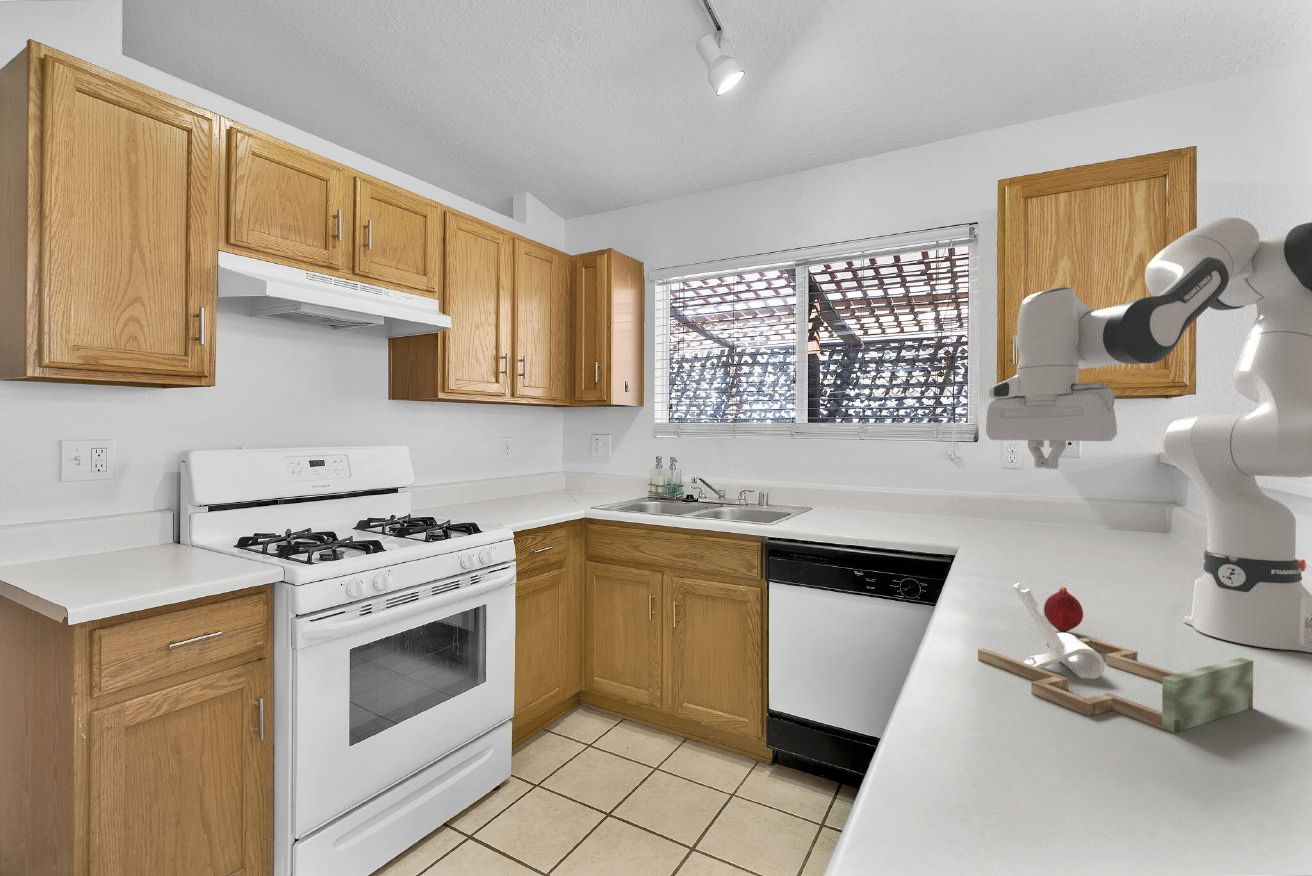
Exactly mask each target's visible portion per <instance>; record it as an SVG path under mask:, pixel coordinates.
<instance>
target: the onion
mask: <svg viewBox="0 0 1312 876" xmlns="http://www.w3.org/2000/svg"><path fill="white" fill-rule="evenodd" d="M1043 614H1044V615H1045V616H1046V618H1047V619H1048V621H1049V622H1050V624H1051V625H1052V627H1053V628H1055V629H1056V630H1058V632H1059V633H1068V632H1069V631H1071V630H1073V629H1075V628H1077V627H1078V626H1079V625H1080V624H1081V623H1082V621H1083V618H1084V610H1083V606H1082V605H1081V603H1080V601H1079V600H1078V599H1077V598H1076V597H1075V596H1073V594H1070V593H1069V592H1068V590H1067V587H1065V586H1061V587H1059V590H1058V591H1057V592H1055V593H1053V594H1051V595H1050V596H1049V597H1048V598H1046V600H1045V602H1044V606H1043Z"/></svg>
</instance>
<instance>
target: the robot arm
mask: <svg viewBox="0 0 1312 876" xmlns="http://www.w3.org/2000/svg"><path fill="white" fill-rule="evenodd" d="M1144 271H1145V272H1144V283H1145V286H1146V289H1147V290H1148V292H1149V293H1150V295H1151V296H1147V297H1144V298H1143V297H1141V298H1140V299H1135V300H1131V301H1129V302H1125V303H1122V304H1118V305H1117V304H1116V305H1113V306H1109V307H1104V308H1100V309H1096V308H1093V307H1090V306H1089V305H1086V304H1085V303H1083V302H1082V301H1081V300H1080V299H1079V298H1078V297H1077V295H1076V292H1075V289H1074V288H1072V287H1057V288H1051V289H1048V290H1043V291H1038V292H1036V293H1032V294H1030V295H1028V296H1027V297H1026V298H1024V299H1023V300H1022V302H1021V305H1020V306H1019V311H1018V318H1017V326H1016V327H1017V329H1016V347H1017V349H1018V352H1019V353H1018V354H1019V358H1018V363H1017V365H1016V375H1015V376H1012V377H1011V378H1008V379H1006V380H1004V381H1002V382H999V383H997V384H994V385H992V386H990V387H989V389H988V396H989V398H990V399H992V400H991V401H990V403H989V404H988V406H987V410H986V411H987V412H986V419H985V420H986V421H985V422H986V424H985V426H986V427H985V428H986V429H985V432H986V433H985V434H986V435H987V437H988V438H989V439H990V441H1027V448H1028V450H1029V452H1030V454H1031V455H1032V457H1033V458H1034V468H1035V469H1051V470H1052V469H1053V470H1055V469H1056V470H1057V469H1058V468H1059V459H1060V458H1061V456H1062V454H1063V453H1064V451H1065V450H1066V448H1067V446H1066V444H1067V443H1066V442H1067V441H1068V442H1111V441H1113V440H1114V439H1115V437H1116V436H1117V432H1118V426H1117V425H1118V424H1117V417H1116V411H1115V391H1114V389H1113V388H1112V387H1111V386H1110V385H1108V384H1106V383H1105V382H1100V381H1096V382H1093V383H1091V382H1090V383H1088V382H1087V383H1086V382H1082V383H1079V381H1080V372H1079V371H1080V370H1084V369H1085V370H1086V369H1094V368H1103V367H1112V366H1120V365H1137V364H1138V365H1139V364H1153V363H1158V362H1160V361H1162V360H1164V359H1166V357H1168V356H1169V355H1170V354H1171V353H1172V352H1173V350H1174V349H1176V347H1177V345H1178V343H1179V342H1180V340H1181V338H1182V336H1183V335H1184V333H1185V332H1186V330H1187V329H1188V328H1189V326H1191V324H1193V322H1194V321H1196V320H1197V318H1199V316H1200V315H1202V314H1203V313H1204V312H1205V311H1206V310H1207V309H1208V308H1210V309H1212V310H1216V311H1230V310H1237V309H1242V308H1244V307H1246V306H1251V305H1256V312H1257V314H1256V315H1257V316H1256V318H1255V320H1254V322H1253V324H1252V325H1251V327H1250V329H1249V332H1248V333H1247V335H1246V338H1245V341H1244V343H1243V345H1242V348H1241V351H1240V354H1239V357H1238V359H1237V362H1236V365H1235V367H1234V370H1233V373H1232V376H1231V378H1232V383H1233V386H1234V388H1235V389H1236V391H1237V392H1238V393H1239V394H1241V395H1242V396H1243V397H1245V398H1247V399H1249V400H1250V401H1252V402H1255V403H1258V405H1257V407H1256V408H1255V409H1254V410H1253V411H1248V412H1225V413H1224V412H1220V413H1217V412H1216V413H1215V412H1214V413H1211V412H1210V413H1202V414H1197V415H1191V416H1187V417H1183V418H1178V419H1175V420H1174V421H1172V422H1171V423H1170V424H1169V425H1168V427H1167V428H1166V430H1165V432H1164V434H1163V436H1162V443H1161V445H1162V450H1163V453H1164V455H1165V457H1166V459H1167V460H1168V462H1170V464H1171V465H1173V466H1174V467H1175V468H1177V469H1178V470H1180V471H1181V472H1183V473H1184V474H1185V475H1186V476H1187V477H1188V478H1189V480H1190V481H1191V482H1192V483H1193V485H1194V486H1195V487H1196V489H1197V491H1198V493H1199V495H1200V497H1201V499H1202V503H1203V505H1204V510H1205V519H1206V520H1205V521H1206V535H1207V536H1206V537H1207V538H1206V539H1207V540H1206V541H1207V542H1206V543H1207V544H1206V550H1205V551H1204V553H1203V558H1202V563H1203V571H1204V572H1205V573H1204V574H1203V575H1202V576H1200V577H1199V578H1197V579H1196V580H1195V583H1194V590H1193V599H1192V608H1191V609H1192V610H1191V615H1185V616H1183V621H1182V622H1183V623H1185V624H1187V625H1190V626H1192V627H1193V628H1194V629H1195V630H1196V631H1197V632H1200V633H1202V634H1204V635H1207V636H1210V637H1214V638H1217V639H1221V640H1225V641H1229V642H1233V643H1237V644H1243V645H1247V646H1248V645H1249V646H1254V647H1259V648H1267V649H1276V650H1277V649H1278V650H1287V651H1289V650H1290V651H1299V652H1306V653H1312V594H1311V592H1309V590H1308V589H1307V588H1306V587H1305V586H1304V585H1303V584H1302V582H1301V581H1303V576H1302V572H1304V571H1306V568H1307V562H1306V560H1305V559H1303V558H1299V559H1298V558H1296V548H1297V547H1296V540H1297V539H1296V533H1297V532H1296V531H1297V529H1296V528H1297V525H1296V523H1297V522H1296V521H1297V519H1296V517H1295V515H1294V513H1293V512H1292V511H1291V509H1290V508H1288V506H1286V505H1285V504H1283V503H1282V502H1280V501H1278V500H1276V499H1274V498H1272V497H1269V496H1268V495H1266V494H1265V493H1264V492H1263V491H1262V490H1261V489H1260V487H1259V485H1258V484H1257V481H1256V476H1258V477H1260V476H1262V477H1279V478H1281V477H1282V478H1298V479H1299V478H1300V479H1301V478H1311V477H1312V221H1311V222H1307V223H1302V224H1299V225H1298V224H1297V225H1296V226H1294V227H1293V228H1290V229H1286V230H1283V231H1279V232H1277V233H1273V234H1271V235H1268V236H1267V235H1266V236H1265V237H1262V238H1260V235H1259V232H1258V230H1257V228H1256V227H1255V226H1254V225H1253V224H1252V223H1250V222H1249V221H1247V220H1245V219H1242V218H1238V217H1223V218H1222V217H1221V218H1218V219H1215V220H1211V221H1210V222H1207V223H1205V224H1202V225H1199V226H1198V227H1195V228H1194V229H1192V230H1190V231H1189V232H1186V233H1185V234H1183V235H1182V236H1180V237H1178V238H1177V239H1175V240H1174V241H1172V242H1171V243H1170V244H1168V245H1167V246H1166V247H1164V248H1163V249H1161V250H1160V251H1159V252H1158V253H1157V254H1156V255H1155V256H1154V257H1153V258H1152V259H1151V260H1150V262H1149V263H1148V264H1147V265H1146V267H1145V270H1144ZM1045 441H1046V442H1048V447H1049V448H1051V451H1050V452H1049V454H1048V456H1047V457H1046V456H1045V454H1044V452H1043V450H1042V448H1044V447H1045Z"/></svg>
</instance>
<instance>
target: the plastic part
mask: <svg viewBox="0 0 1312 876" xmlns="http://www.w3.org/2000/svg"><path fill="white" fill-rule="evenodd" d="M1021 586H1022V585H1021V583H1020V582H1017V583H1015V584H1013V585H1012V587H1013V588H1014V589H1015V592H1016V593H1017V595H1018V596H1019V598H1020V600H1021V601H1022V603H1023V604H1024V606H1025V608H1026V610H1027V611H1028V613H1029V614H1030V616H1031V618H1032V619H1033V621H1034V623H1035V625H1036V627H1037V628H1038V630H1039V632H1040V633H1041V635H1042V636H1043V638H1044V639H1045V641H1046V644H1047V643H1048V645H1049V646H1048V647H1049V648H1050V650H1051V651H1049V652H1047V653H1043V654H1037V655H1031V656H1029V657H1027V659H1025V660H1024V661H1023V663H1026V664H1029V665H1032V666H1035V667H1037V668H1040V669H1043V668H1044V667H1045V668H1046V667H1049V666H1052V665H1056V664H1057V663H1062V664H1063V665H1064V666H1066V667H1067V668H1068V669H1070V670H1071V671H1072V672H1073V673H1074V674H1075V675H1077V676H1078V678H1082V679H1093V680H1097V679H1099V678H1100V677H1101V676H1102V675H1103V674H1104V671H1105V667H1106V666H1105V665H1106V662H1105V661H1104V660H1103V658H1102V657H1101V655H1100V654H1099V653H1097V652H1096V651H1094V650H1093V649H1092V648H1090V647H1089V646H1088V645H1086V644H1085V643H1083V642H1081V641H1080V640H1079V639H1080V638H1078V637H1077V636H1075V635H1073V634H1071V633H1069V632H1065V633H1062V632H1057V631H1056V630H1055V629H1054V626H1053V625H1051V623H1050V622H1049V621H1048V619H1047V618H1046V616H1045V614H1044V613H1043V614H1041V613H1039V611H1038V609H1037V608H1038V607H1040V606H1039V604H1038V602H1037V600H1036V599H1035V598H1034V596H1033V594H1032V590H1031V589H1030V588H1027V589H1022V588H1021Z"/></svg>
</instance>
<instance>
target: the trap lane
mask: <svg viewBox="0 0 1312 876" xmlns="http://www.w3.org/2000/svg"><path fill="white" fill-rule="evenodd" d="M1078 639H1079V640H1080V641H1081V642H1083V643H1085V644H1086V645H1088V646H1089V647H1090V648H1092V649H1093V650H1094V651H1096V652H1097V653H1099V654H1100V655H1101V657H1102V658H1103V660H1104V663H1105V665H1107V666H1111V667H1114V668H1116V669H1120V670H1122V671H1125V672H1126V671H1127V672H1129V673H1133V674H1135V675H1139V676H1141V677H1144V678H1147V679H1148V678H1149V679H1151V680H1153V681H1157V682H1161V683H1162V688H1161V689H1162V695H1161V696H1162V698H1161V700H1162V701H1161V702H1162V705H1161V706H1162V708H1161V710H1162V711H1161V710H1157V709H1155V708H1151V707H1149V706H1146V705H1143V704H1141V703H1138V702H1136V701H1132V700H1130V699H1126V698H1124V697H1121V696H1118V695H1116V694H1112V693H1109V692H1106V693H1101V694H1099V695H1094V696H1090V697H1084V696H1082V695H1079V694H1077V693H1074V692H1072V691H1069V689H1070V688H1069V677H1064V676H1062V675H1060V674H1056V673H1054V672H1051V671H1049V670H1045V669H1043V668H1037V667H1035V666H1032V665H1029V664H1026V663H1024V661H1023V662H1022V661H1020V660H1017V659H1014V658H1012V657H1009V656H1006V655H1003V654H1001V653H998V652H995V651H992V650H990V649H987V648H978V649H977V660H980V661H983V662H985V663H987V664H990V665H992V666H995V667H998V668H1000V669H1003V670H1006V671H1009V672H1011V673H1014V674H1016V675H1020V676H1022V677H1024V678H1027V679H1029V680H1032V681H1031V686H1030V687H1031V689H1030V690H1031V694H1033V695H1035V696H1038V697H1041V698H1042V699H1045V700H1047V701H1050V702H1053V703H1055V704H1058V705H1061V706H1062V707H1065V708H1068V709H1071V710H1072V711H1075V712H1077V713H1080V714H1082V715H1084V716H1087V717H1092V716H1095V715H1100V714H1101V713H1102V714H1103V713H1106V712H1110V711H1114V712H1117V713H1120V714H1123V715H1125V716H1128V717H1131V718H1133V719H1136V720H1138V721H1140V722H1144V723H1146V724H1149V725H1152V726H1154V727H1157V728H1159V729H1162V730H1164V731H1168V732H1170V733H1172V734H1177V733H1179V732H1182V731H1185V730H1188V729H1192V728H1194V727H1199V726H1201V725H1203V724H1208V723H1210V722H1214V721H1216V720H1219V719H1222V718H1226V717H1229V716H1232V715H1236V714H1239V713H1241V712H1244V711H1248V710H1251V709H1253V707H1254V660H1252V659H1248V658H1243V657H1239V658H1233V659H1230V660H1227V661H1223V662H1218V663H1214V664H1210V665H1207V666H1204V667H1198V668H1195V669H1191V670H1187V671H1184V672H1174V671H1171V670H1167V669H1165V668H1161V667H1158V666H1154V665H1152V664H1148V663H1144V662H1141V661H1138V651H1136V650H1133V649H1129V648H1126V647H1123V646H1119V645H1115V644H1112V643H1108V642H1105V641H1101V640H1098V639H1095V638H1091V637H1087V636H1086V637H1082V638H1078ZM1046 646H1048V647H1049V645H1048V643H1047V642H1046Z"/></svg>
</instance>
